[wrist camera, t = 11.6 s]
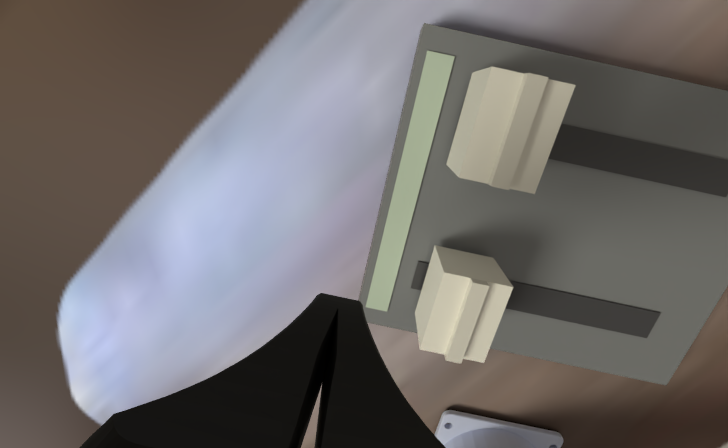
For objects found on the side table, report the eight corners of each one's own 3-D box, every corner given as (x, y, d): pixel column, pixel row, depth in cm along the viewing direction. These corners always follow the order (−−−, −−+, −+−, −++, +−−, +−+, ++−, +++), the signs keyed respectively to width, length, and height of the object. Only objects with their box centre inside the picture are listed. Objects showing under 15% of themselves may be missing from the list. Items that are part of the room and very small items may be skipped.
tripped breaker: (509, 178, 17) (538, 196, 14) (446, 164, 17) (460, 180, 14) (540, 87, 15) (581, 84, 12) (472, 72, 15) (495, 65, 12)
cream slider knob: (469, 324, 19) (486, 368, 16) (414, 312, 19) (420, 355, 16) (493, 257, 18) (516, 291, 15) (434, 245, 18) (445, 276, 15)
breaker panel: (648, 367, 22) (668, 388, 20) (357, 305, 22) (354, 321, 20) (795, 113, 17) (838, 114, 15) (420, 29, 17) (424, 22, 15)
